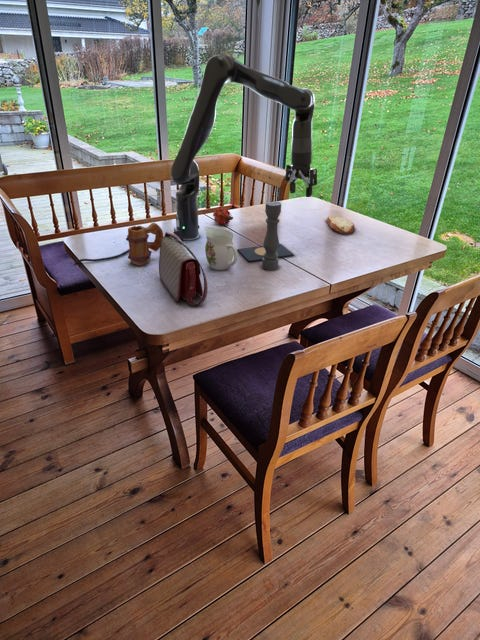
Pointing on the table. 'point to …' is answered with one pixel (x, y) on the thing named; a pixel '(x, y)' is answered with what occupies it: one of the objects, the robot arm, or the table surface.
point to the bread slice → (340, 225)
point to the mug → (143, 242)
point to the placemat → (262, 253)
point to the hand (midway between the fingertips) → (300, 194)
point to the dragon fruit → (222, 215)
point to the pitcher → (220, 248)
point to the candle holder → (271, 236)
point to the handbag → (180, 270)
